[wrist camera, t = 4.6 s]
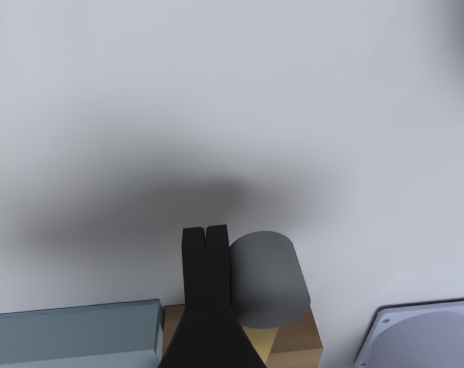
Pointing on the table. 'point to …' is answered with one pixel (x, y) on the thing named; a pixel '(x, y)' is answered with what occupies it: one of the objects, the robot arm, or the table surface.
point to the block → (284, 346)
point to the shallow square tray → (84, 337)
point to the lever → (266, 286)
